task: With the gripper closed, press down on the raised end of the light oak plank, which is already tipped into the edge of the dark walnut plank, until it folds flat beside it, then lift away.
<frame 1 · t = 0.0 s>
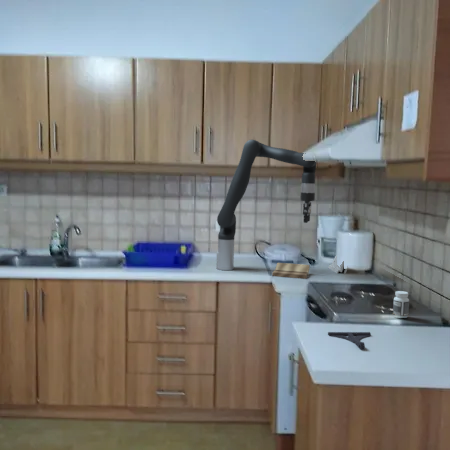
hand: (306, 221, 263), 29 cm above the table, tool pointing down, fingers open, 8 cm apart
bracket: (354, 344, 160), on the table
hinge: (338, 271, 282), on the table
walnut plank: (290, 276, 262), on the table
pill bottle: (400, 317, 190), on the table
oak plank: (292, 269, 269), point 3 cm above the table, hinge at 28.0°
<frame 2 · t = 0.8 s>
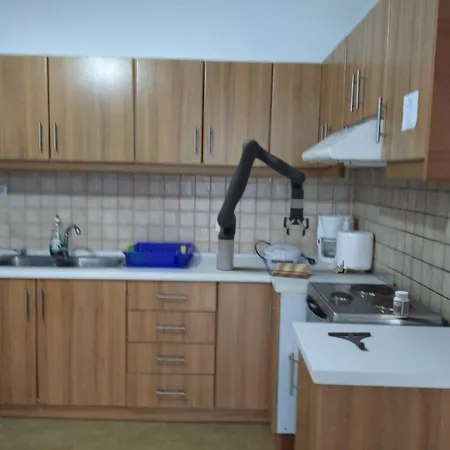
hand: (295, 235, 275), 20 cm above the table, tool pointing down, fingers open, 8 cm apart
nothing on the table moved.
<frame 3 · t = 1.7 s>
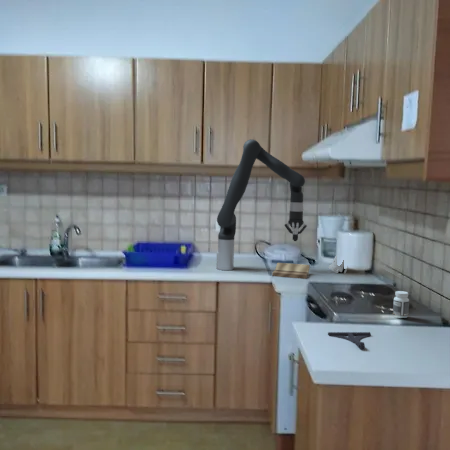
hand: (295, 240, 275), 17 cm above the table, tool pointing down, fingers closed
nothing on the table moved.
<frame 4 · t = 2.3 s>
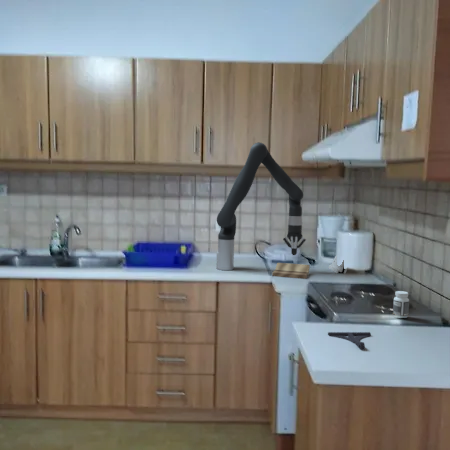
hand: (294, 255, 272), 10 cm above the table, tool pointing down, fingers closed
nothing on the table moved.
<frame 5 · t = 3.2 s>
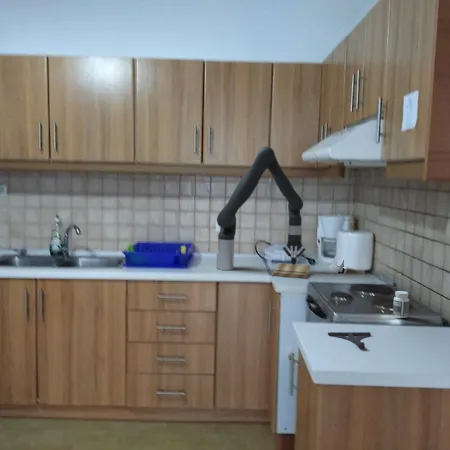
hand: (293, 264, 273), 5 cm above the table, tool pointing down, fingers closed
oak plank: (292, 269, 269), point 2 cm above the table, hinge at 25.6°, touching gripper
everything else where it was.
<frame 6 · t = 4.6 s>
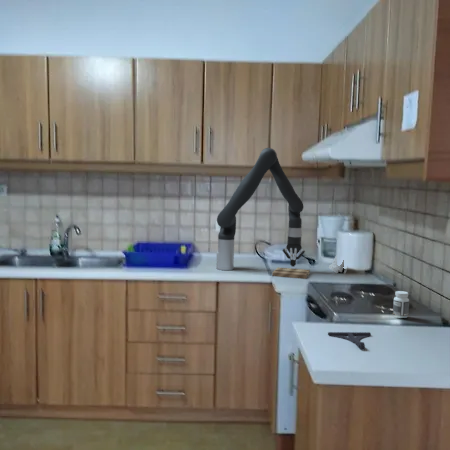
hand: (293, 266, 273), 3 cm above the table, tool pointing down, fingers closed
oak plank: (292, 271, 270), point 1 cm above the table, hinge at 0.1°
everything else where it was.
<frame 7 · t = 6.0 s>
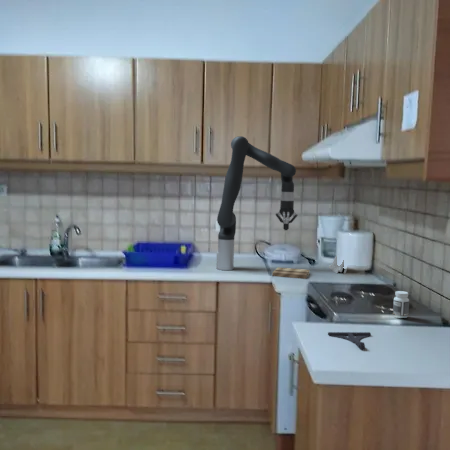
hand: (286, 230, 278), 23 cm above the table, tool pointing down, fingers closed
nothing on the table moved.
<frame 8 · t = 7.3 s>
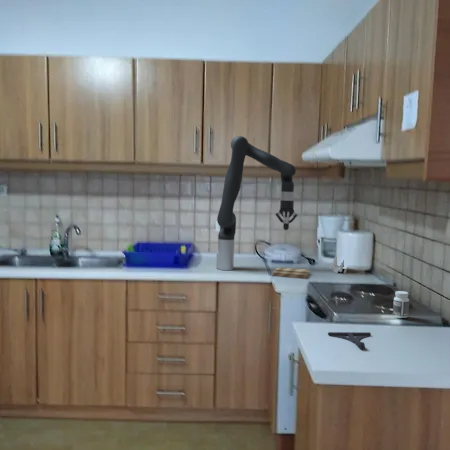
hand: (286, 229, 278), 23 cm above the table, tool pointing down, fingers closed
nothing on the table moved.
at the end: oak plank at +0° (first picture: +28°) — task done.
